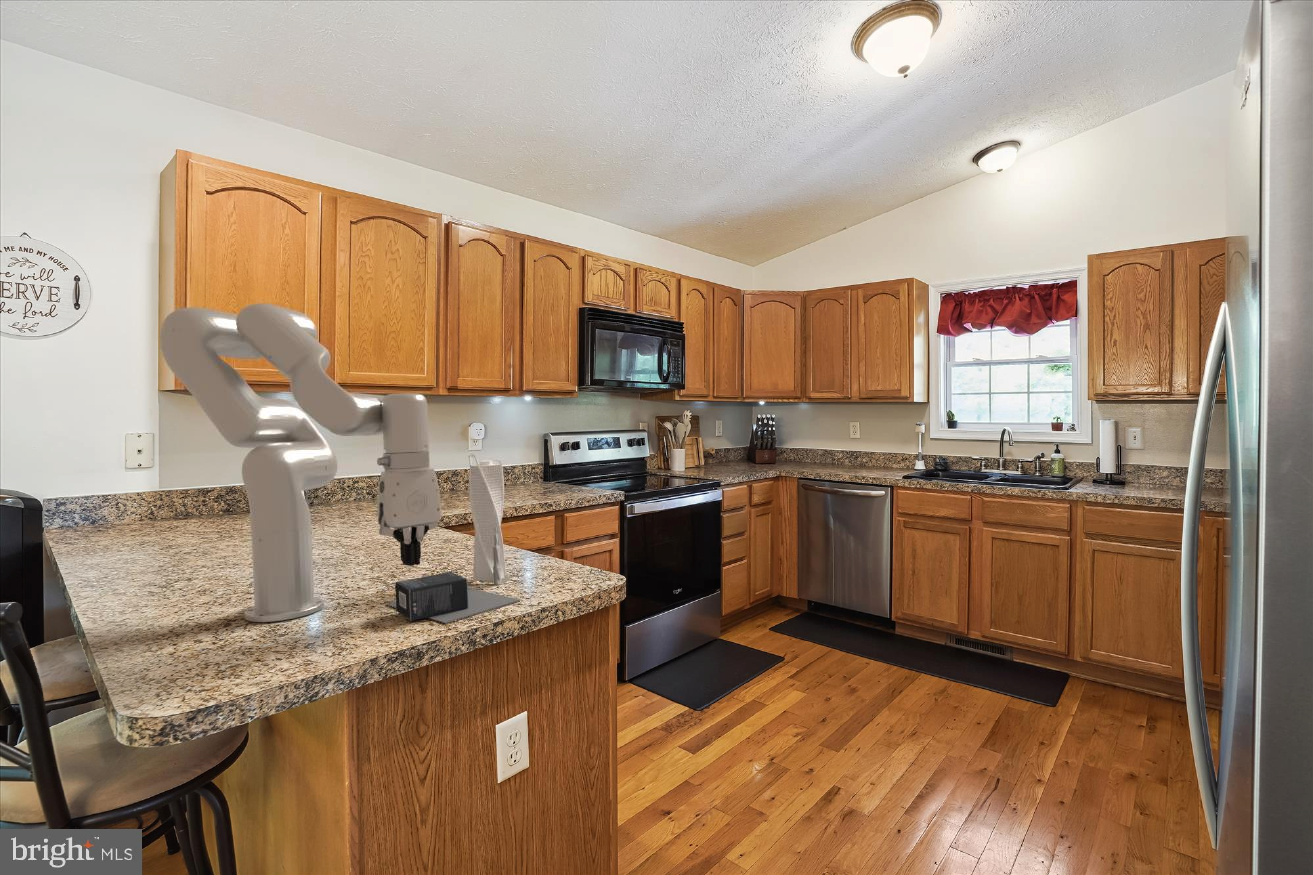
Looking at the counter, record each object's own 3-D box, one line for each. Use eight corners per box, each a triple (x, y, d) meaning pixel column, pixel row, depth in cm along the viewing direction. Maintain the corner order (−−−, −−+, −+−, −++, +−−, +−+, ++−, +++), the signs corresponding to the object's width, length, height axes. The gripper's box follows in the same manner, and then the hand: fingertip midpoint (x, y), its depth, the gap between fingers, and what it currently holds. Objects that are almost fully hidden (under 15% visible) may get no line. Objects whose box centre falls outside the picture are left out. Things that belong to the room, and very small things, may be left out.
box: (409, 622, 105) (469, 608, 112) (408, 589, 105) (467, 577, 112) (396, 612, 111) (453, 599, 118) (394, 581, 111) (451, 570, 118)
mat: (385, 605, 117) (385, 603, 117) (459, 586, 129) (459, 585, 129) (445, 624, 104) (445, 622, 104) (520, 601, 117) (520, 599, 117)
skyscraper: (462, 585, 131) (458, 455, 130) (479, 576, 139) (475, 453, 138) (500, 586, 129) (495, 454, 129) (515, 576, 137) (510, 452, 137)
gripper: (376, 466, 102) (381, 576, 102) (455, 460, 113) (459, 558, 114) (355, 465, 106) (359, 570, 107) (433, 459, 118) (437, 554, 118)
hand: (411, 564), depth 110 cm, fingers closed
